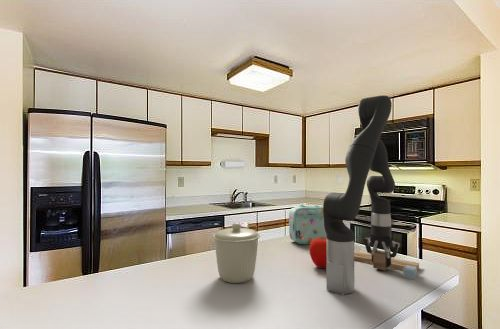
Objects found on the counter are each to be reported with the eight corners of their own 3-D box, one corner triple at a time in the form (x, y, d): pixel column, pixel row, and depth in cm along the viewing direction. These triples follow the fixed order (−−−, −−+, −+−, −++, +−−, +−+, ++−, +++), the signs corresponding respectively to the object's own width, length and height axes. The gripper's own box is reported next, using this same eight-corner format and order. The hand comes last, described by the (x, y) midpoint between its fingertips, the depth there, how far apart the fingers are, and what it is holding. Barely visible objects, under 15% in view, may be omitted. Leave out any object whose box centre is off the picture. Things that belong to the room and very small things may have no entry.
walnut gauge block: (385, 270, 110) (385, 255, 110) (373, 267, 112) (373, 253, 113) (389, 266, 114) (388, 251, 114) (377, 263, 117) (377, 249, 117)
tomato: (333, 263, 121) (333, 234, 121) (339, 272, 110) (339, 240, 110) (307, 262, 122) (307, 233, 122) (310, 271, 111) (310, 240, 111)
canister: (255, 290, 94) (255, 228, 95) (205, 285, 98) (205, 226, 98) (263, 270, 112) (263, 219, 112) (221, 267, 116) (221, 217, 116)
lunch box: (293, 246, 148) (293, 206, 148) (286, 241, 158) (286, 204, 158) (337, 242, 154) (337, 204, 154) (328, 238, 164) (327, 202, 164)
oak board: (415, 273, 109) (415, 268, 109) (350, 259, 126) (350, 254, 126) (419, 267, 115) (418, 262, 115) (356, 255, 132) (356, 250, 132)
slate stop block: (413, 279, 103) (413, 271, 103) (403, 276, 105) (403, 269, 105) (416, 274, 107) (416, 267, 107) (406, 272, 110) (406, 264, 110)
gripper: (360, 223, 115) (360, 263, 115) (397, 227, 106) (398, 272, 106) (366, 220, 121) (366, 259, 121) (402, 224, 112) (402, 266, 111)
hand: (381, 264), depth 113 cm, fingers closed on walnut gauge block, 4 cm apart
